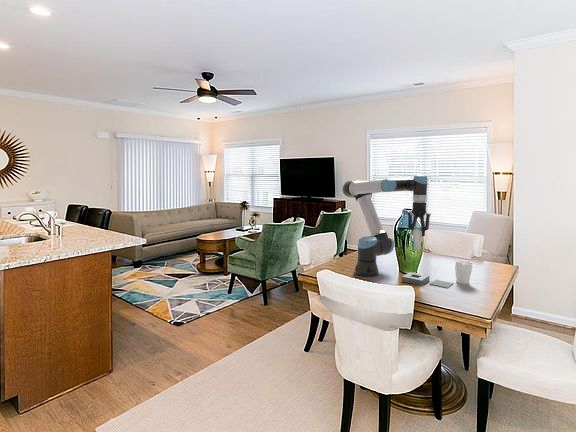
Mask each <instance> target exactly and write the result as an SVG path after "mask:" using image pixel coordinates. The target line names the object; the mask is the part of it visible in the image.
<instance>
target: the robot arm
mask: <svg viewBox="0 0 576 432" xmlns="http://www.w3.org/2000/svg"><path fill="white" fill-rule="evenodd" d="M428 184H429V182H428V176H427V175H421V174H420V175H418V174H417V175H414V176H413V178H405V177H401V178H386V179H379V180H370V181H369V180H365V179H361V180H348V181H345V183H344V184H343V186H342V188H341V189H342V193H343V195H344V196H345V197H347V198H355V202H356V203H358V204H359V206H360V208H361V212H362V215H363V216H364V219H365V222H366V224H367V227H368V230H369V233H370V235H369V236H362V237H360V238H359V239H358V243H357V262H356V263H355V264H356V265H355V268H354V274H355V275H358V276H361V277H368V278H369V277H376V276H378V275H379V273H380V271H379V267H378V264H377V257H378V256H379V257H380V256H385V255H388V254H391V253H392V252H393V251H394V248H395V241H394V239H393V238H392V237H391V236H389V235H388V233H387V232H388V231H387V232H386V231H385V230H384V229H383V227H382V223H381V221H380V217H379V215H378V213H377V211H376V210H377V209H376V207H375V205H374V203H373V200H372V199H373V198H372V197H373V194H377V193H391V192H394V193H395V192H412V201H413V202H412V210H411V211H408V212H407V217H408V221H407V225H408V226H407V227H408V229H410V230H411V233H410V235H411V236H412V242H414V231H415V229H414V226H417V221H418V219H419V220H420V226H421V228H422V230H421V231H420V242H421V243H423V242H424V237H425V236H426V231H428V230H429V229H430V228H429V227H430V218H431V215H432V214H431V213H429V212H427V199H428V197H427V191H428Z"/></svg>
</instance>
